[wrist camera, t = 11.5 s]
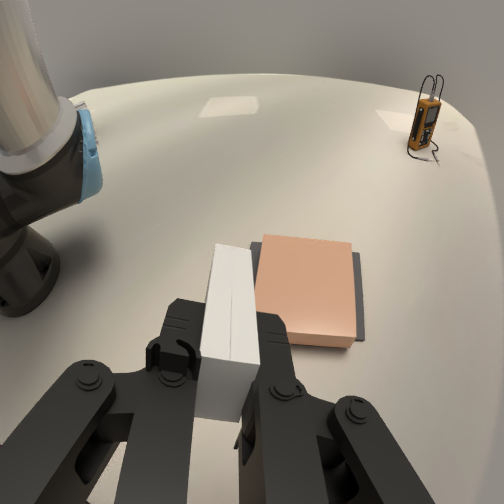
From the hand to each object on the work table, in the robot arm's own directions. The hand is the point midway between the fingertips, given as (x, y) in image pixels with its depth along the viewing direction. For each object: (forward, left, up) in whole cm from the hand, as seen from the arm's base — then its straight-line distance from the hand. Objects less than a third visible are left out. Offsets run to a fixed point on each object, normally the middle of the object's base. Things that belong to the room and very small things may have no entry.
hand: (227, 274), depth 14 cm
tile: (0, +9, -21) cm, 23 cm away
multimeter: (-4, +69, -24) cm, 73 cm away
